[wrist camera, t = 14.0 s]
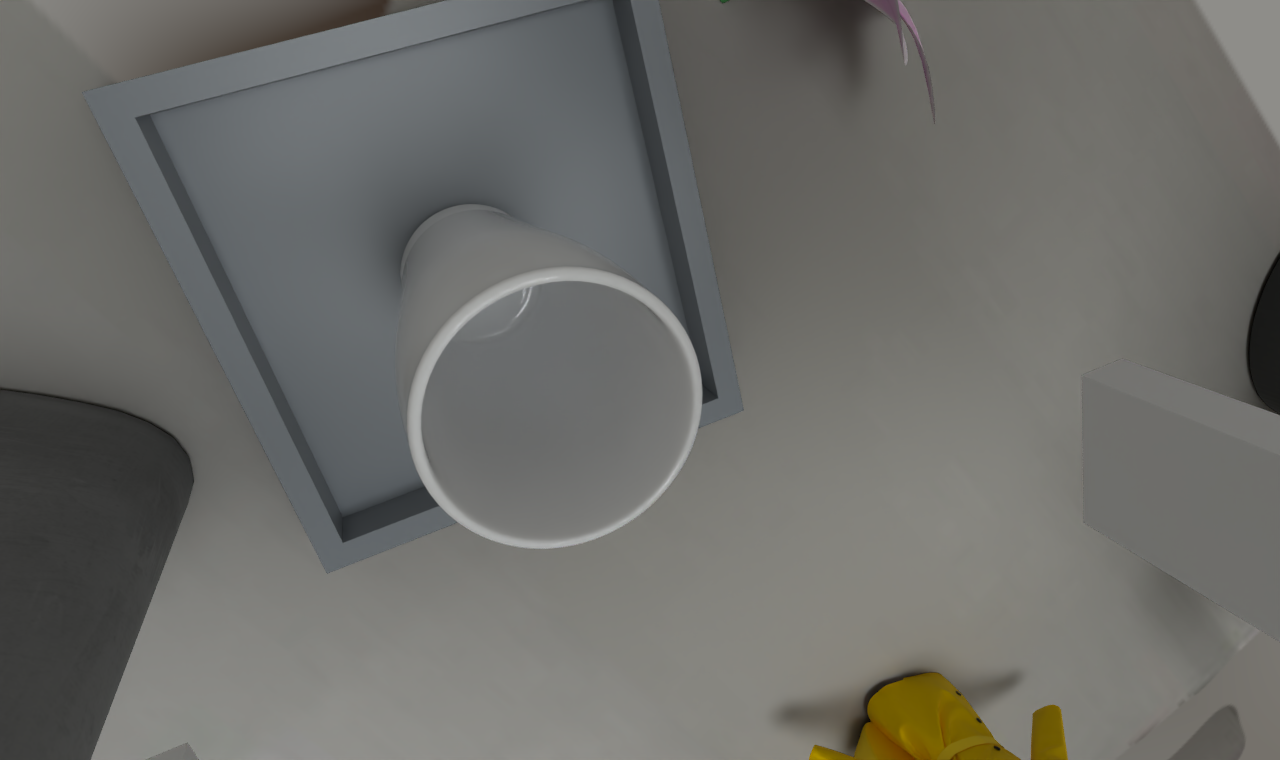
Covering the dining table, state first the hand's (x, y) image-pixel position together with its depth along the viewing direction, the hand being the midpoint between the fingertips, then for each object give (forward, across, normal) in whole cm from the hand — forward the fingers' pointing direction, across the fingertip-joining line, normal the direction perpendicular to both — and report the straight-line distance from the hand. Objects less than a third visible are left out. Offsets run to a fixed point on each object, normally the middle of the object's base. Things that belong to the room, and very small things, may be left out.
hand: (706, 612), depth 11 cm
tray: (+23, +1, 0) cm, 23 cm away
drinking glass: (+22, +1, 0) cm, 22 cm away
